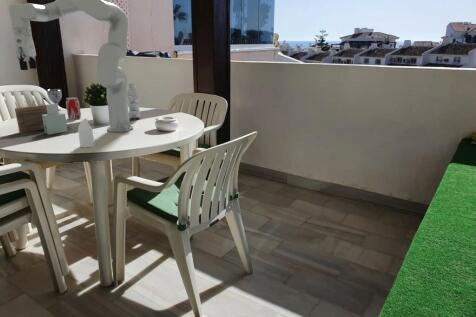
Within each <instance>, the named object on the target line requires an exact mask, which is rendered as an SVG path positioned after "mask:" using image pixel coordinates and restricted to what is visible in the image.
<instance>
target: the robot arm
mask: <svg viewBox="0 0 476 317" xmlns="http://www.w3.org/2000/svg"><path fill="white" fill-rule="evenodd" d="M8 11H9V17H10V22H11V27H12V33H13V34H12V35H13V36H14V41H15V42H14V43H15V50H16V51H15V54H16V57H17V61H18V63H19V67H20V71H28V70H29V69H30V70H31V69H32V70H36V69H37V68H38V66H37V60H36V56H37V53H36V52H37V51H36V48H35V47H36V46H35V43H34V40H33V36H32V34H33V33H32V27H31V22H32V21H33V22H40V23H41V22H50V21H54V20H57V19H60V18H62V17H65V16H67V15H70V14H73V13H77V12H83V13H85V14H87V15H88V16H90V17H92V18H93V19H96V20H98V21H100V22H106V23H107V22H108V23H109V29H108V34H107V35H108V36H107V43H106V42H105V43H104V44H102V45H101V46H100V48H99V49H98V52H97V53H98V54H97V69H96V78H97V82H98V83H99V85H100V86H102V87H103V88H104V89H105V88H106V99H107V100H106V101H107V109H108V110H107V111H108V117H109V119H108V120H109V126H108V127H107V132H111V133H124V132H128V131H129V132H130V131H132V130H134V126H133V125H132V124H130V117H129V101H128V95H127V92H128V90H127V89H128V88H127V84H128V83H127V82H128V81H127V74H126V71H125V70H124V69H123V68H122V67H121V66H119V64H121V63H123V62H124V61H126V58H127V45H128V32H129V31H128V29H129V21H128V17H127V15H126V13H125V11H124V10H123V9H122V8H121V7H119V6H118V5H117V4H115V3H112V2H108V1H105V0H54V1H53V2H49V3H46V4H38V3H31V2H27V3H22V4H20V3H12V4H9V5H8ZM30 21H31V22H30ZM27 59H28V62H27V61H26V60H27ZM28 64H29V65H28ZM28 66H29V67H28Z"/></svg>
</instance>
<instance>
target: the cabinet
mask: <svg viewBox="0 0 476 317" xmlns="http://www.w3.org/2000/svg"><path fill="white" fill-rule="evenodd" d="M45 105H46V108H47V113H48V114H45V115H42V118H43V124H44V129H43V130H44V133H45V134H47V135H54V134H55V135H56V134H59V133H60V134H61V133H66V132H68V125H67V118H66V113H65V112H64V113H63V112H61V111H59V103H58V104H57V103H56V104H54V103H49V104H48V103H47V104H45Z"/></svg>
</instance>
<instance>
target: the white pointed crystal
mask: <svg viewBox="0 0 476 317" xmlns="http://www.w3.org/2000/svg"><path fill="white" fill-rule="evenodd" d="M77 131H78V139H79V140H78V141H79V146H80V148H82V147H83V149H85V148H86V149H87V147H89V148H92V147H94V146H95V138H94V133H93V127H92V126H91V125H90V124H89V121H88V119H87V118H83V120H81V121H80V123H79V124H78V128H77Z"/></svg>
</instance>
